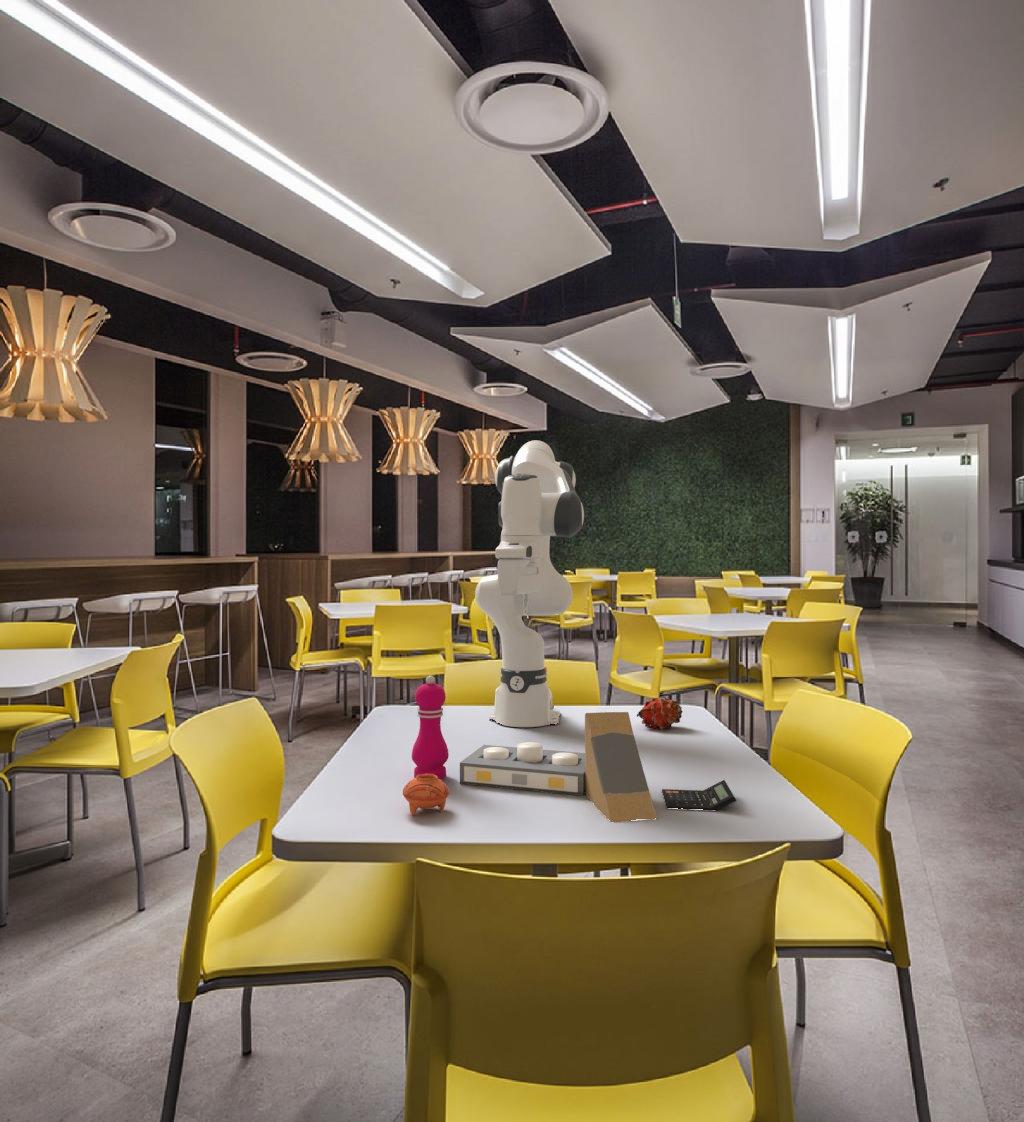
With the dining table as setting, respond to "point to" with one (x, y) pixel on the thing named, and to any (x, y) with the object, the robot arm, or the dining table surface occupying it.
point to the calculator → (700, 797)
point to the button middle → (530, 752)
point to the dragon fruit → (660, 713)
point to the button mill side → (496, 753)
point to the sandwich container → (615, 768)
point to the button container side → (565, 759)
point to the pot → (425, 793)
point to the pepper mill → (430, 731)
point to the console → (524, 772)
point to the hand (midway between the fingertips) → (521, 615)
